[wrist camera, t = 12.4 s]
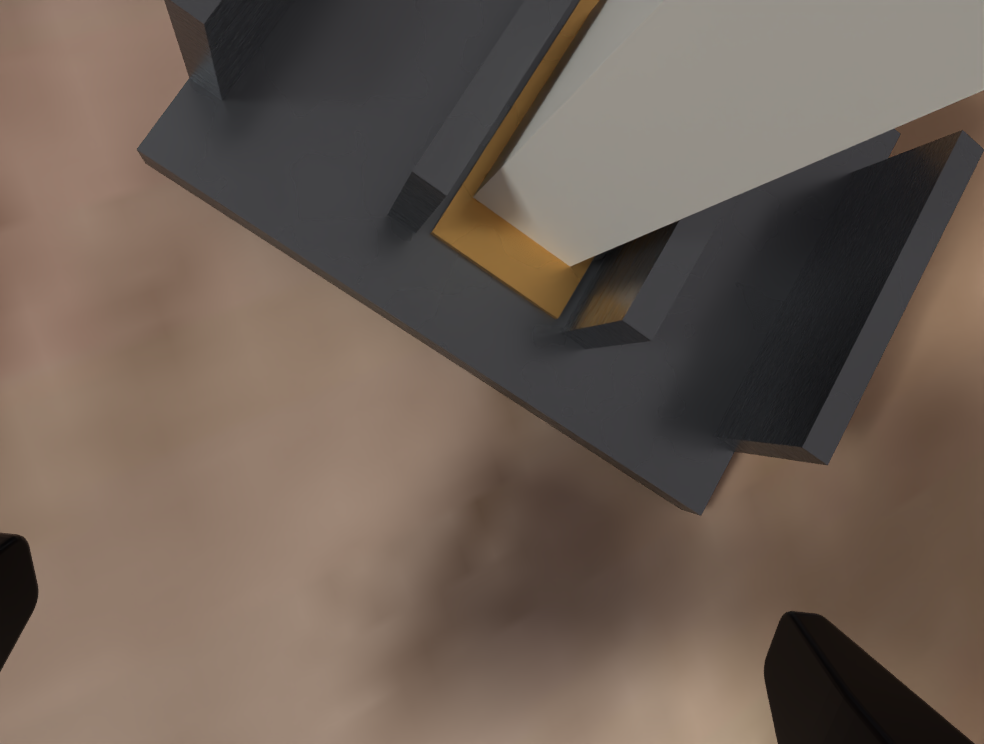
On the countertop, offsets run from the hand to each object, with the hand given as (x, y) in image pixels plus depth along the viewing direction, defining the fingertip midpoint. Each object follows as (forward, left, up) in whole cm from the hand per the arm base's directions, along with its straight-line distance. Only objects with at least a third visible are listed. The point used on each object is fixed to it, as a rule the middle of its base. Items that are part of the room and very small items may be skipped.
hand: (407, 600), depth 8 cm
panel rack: (+10, -2, -9) cm, 14 cm away
